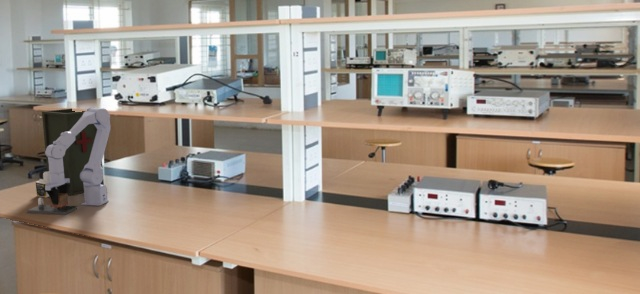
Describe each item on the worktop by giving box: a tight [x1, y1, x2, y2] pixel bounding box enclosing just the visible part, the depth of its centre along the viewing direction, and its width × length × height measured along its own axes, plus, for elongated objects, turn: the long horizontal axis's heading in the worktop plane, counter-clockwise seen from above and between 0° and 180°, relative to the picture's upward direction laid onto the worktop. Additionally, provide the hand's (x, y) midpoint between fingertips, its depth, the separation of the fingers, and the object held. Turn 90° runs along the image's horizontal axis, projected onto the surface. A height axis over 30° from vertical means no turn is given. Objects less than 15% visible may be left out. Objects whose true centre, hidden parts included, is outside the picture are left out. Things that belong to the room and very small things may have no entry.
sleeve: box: [49, 193, 69, 207], centre depth 246 cm, size 5×5×5 cm
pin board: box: [26, 196, 78, 216], centre depth 247 cm, size 18×9×6 cm, turn 81°
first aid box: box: [41, 108, 105, 196], centre depth 282 cm, size 18×18×40 cm
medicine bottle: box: [35, 170, 57, 198], centre depth 273 cm, size 7×7×12 cm
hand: (59, 202), depth 246 cm, fingers closed on sleeve, 5 cm apart
